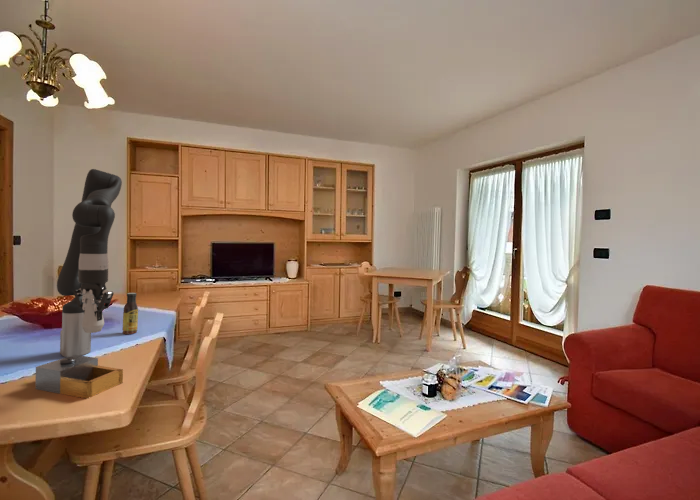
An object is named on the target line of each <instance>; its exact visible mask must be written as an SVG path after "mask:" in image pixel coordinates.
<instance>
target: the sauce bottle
mask: <svg viewBox="0 0 700 500" xmlns="http://www.w3.org/2000/svg"><path fill="white" fill-rule="evenodd" d="M138 320H139V308H138V303H137V293H136V292H128V293H126V303H125V305H124V306H123V313H122V334H123V335H133V334H137V332H138V323H139V321H138Z"/></svg>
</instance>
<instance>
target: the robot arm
mask: <svg viewBox="0 0 700 500" xmlns="http://www.w3.org/2000/svg"><path fill="white" fill-rule="evenodd" d="M122 184H123V181H122V179H121V177H120V176H118V175H115V174H113V173H109V172H106V171H102V170H99V169H96V168H91V169H90V170H88V173H87V174H86V177H85V181H84V188H83V191H82V198H81V202H79V203H77V205H76V206H74V208H73V210H72V214H71V215H72V220H73V222H74V226H73V230H72V235H71V238H70V242H69V247H68V250H67V254H66V257H65V260H64V262H63V265H62V267H61V269H60V272H59V274H58V277H57V282H56V289H57V292H58V294H59V295H61V296H65V297H66V296H74V298H73V299H72V300H70V301H68V302H66V303H64V304H63V306H62V307H61V310H62V311H61V316H62V317H61V318H62V319H61V322H62V323H61V330H60V332H59V333H60V337H59V338H60V339H59V341H60V342H59V343H60V344H59V354H60V355H61V356H62V357H64V358H66V357H69V356H72V355H80V356H85V355H87V354H89V353H91V352H92V333H86V332H84V330H83V328H82V321H83V317H84V312H85V308H86V303H87V299H86V298H85V295H86V293H87V292H88V291H89V294H90V295H91V303H92V304H93V307H94V313H95V316H96V313H97V321H100V320H102V314H103V311H104V310H106V309H109V308H110V307H109V306H110V304H111V302H112V298H113V297H114V295H115V294H114V293H115V292H113V291H109V290H107V286H106V284H107V282H108V281H109V256H108V243H109V236H110V232H111V229H112V227H113V224H114V222H115V218H116V213H115V211H114V209H113V208H112V204H113V203H114V202H115V200H116V199H117V198H118V196H119V194H120V192H121V189H122V186H123V185H122ZM96 300H99V301H96ZM98 303H100V304H99V306H98ZM99 318H100V319H99Z"/></svg>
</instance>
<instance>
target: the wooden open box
mask: <svg viewBox="0 0 700 500" xmlns="http://www.w3.org/2000/svg"><path fill="white" fill-rule="evenodd" d="M98 359H99V358H98V357H94V356H93V357H92V356H86V355H72V356H69V357H63V358H60V359H57V360H54V361H51V362H47V363H43V364H41V365H37V366H35V388H34V389H35V390H39V391H44V392H49V393H50V392H51V393H55V394H60V395H64V396H70V397H77V398H80V397H81V398H82V399H86V398H88V399H90V398H92V397H94V396H96V394H97V395H99V394H101V393H103V392H105V391H108V390H110V389H112V388H115V387H116V386H119V385H121V384H123V383H124V382H123V379H124V370H123V369H121V368H117V367H116V368H115V367H109V366H104V365H99V360H98ZM89 397H90V398H89Z"/></svg>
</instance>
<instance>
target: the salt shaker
mask: <svg viewBox="0 0 700 500" xmlns="http://www.w3.org/2000/svg"><path fill="white" fill-rule="evenodd" d="M85 298H86V299H87V303H86V308H85V312H84V317H83V321H82V328H83V330H84V332H86V333H91V334H93V333H94V334H95V333H98V332H101V331H102V329H103V327H104V326H105V319H104V315H103V313H102V320H100V321H97V313H96V316H95V313H94V307H93V304H92V303H91V295H90V294H89V291H88V292H87V293H86V295H85ZM99 300H100V299H99ZM99 300H96V301H99ZM99 304H100V303H98V306H99ZM99 319H100V318H99Z"/></svg>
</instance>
